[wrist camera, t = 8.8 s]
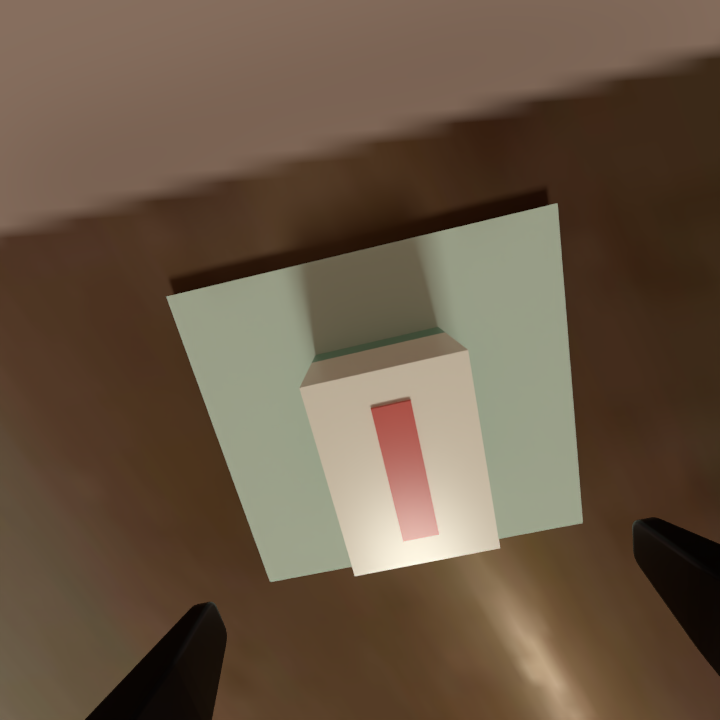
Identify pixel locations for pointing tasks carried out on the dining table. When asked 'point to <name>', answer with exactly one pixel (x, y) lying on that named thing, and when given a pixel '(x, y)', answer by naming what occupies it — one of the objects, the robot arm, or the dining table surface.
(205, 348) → the mat
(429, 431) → the mahjong tile
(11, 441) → the dining table surface
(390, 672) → the dining table surface
